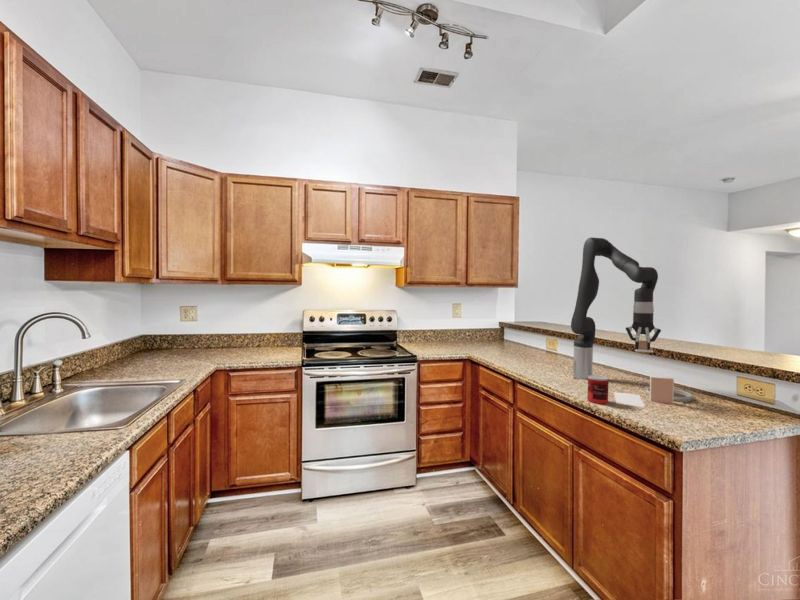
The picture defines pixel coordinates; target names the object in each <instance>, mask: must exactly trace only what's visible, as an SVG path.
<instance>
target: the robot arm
mask: <svg viewBox="0 0 800 600" xmlns="http://www.w3.org/2000/svg"><path fill="white" fill-rule="evenodd" d="M596 257H605V258H607V259H608V260H610V261H611V263H612V265H613V266H614V267H615V268H616V269H618V270H619V271H621V272H623V273H624V274H625V275H626V276H627V277H628V279H630V281H632V282H634V283H637V284H641V285H640V288H636V289H635V290H634V297H633V298H634V300H633V306H632V307H633V309H632V311H633V312H632V324H631V325H630V326H627V327H625V331H626V332H627V334H628V336H629V339H630V340H631V341H634V347H635V350H636V349H639V340H640V336H641V335H645V341H647V350H651V343H652V342H655V341H656V340H657V339H658V337H659V335H660V333H661V332H662V329H660V328H658V327H655V325H654V312H655V309H654V291H655V289H656V286H657V283H658V280H659V274H658V272H657V271H658V270H657V269H655V267H651V266H649V267H648V266H647V267H646V266H645V267H644V266H640V263H639V261H637V260H636V259H634V258H632V257H631V256H629V255H626V254H625V253H624V252H622V251H620V250H619V249H618V248H617V247H616V246H614V245H613V243H612V242H610V241H609V240H608V239H606V238H604V237H603V238H602V237H588V238H587V239H586V240H585V241H584V243H583V248H582V261H581V262H582V265H581V270H580V271H581V272H580V277H579V283H578V290H577V296H576V300H575V301H576V302H575V307H574V311H573V314H572V317H571V321H570V328H571V331H572V332H573V333H574V334H576V335H578V337H577V338H576V339H575V340H574V341H573V367H572V369H573V374H572V377H573V378H572V379H577V380H584V381H588V376H589V375H593V372H594V371H593V370H594V369H593V367H594V366H593V363H594V362H593V361H594V360H593V359H594V357H593V354H594V351H593V350H594V343H595V339H596V322H595V320H594V319H593V318H592V317H591V316H588V310H589V309H590V306H591V305H592V303H593V302H594V300H595V299H596V297H597V296H598V292H599V286H600V278H599V276H598V273H597V271H596V267H595V260H596ZM633 330H634V332H635V337H634V336H633V334H632V331H633ZM653 330H654V331H653ZM651 332H654V334H653V335H652V337H651V336H650V335H651V334H650V333H651Z"/></svg>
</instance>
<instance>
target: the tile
mask: <svg viewBox="0 0 800 600" xmlns="http://www.w3.org/2000/svg"><path fill="white" fill-rule="evenodd" d="M674 379H675V378H674V377H664V376H654V375H650V376H649V386H650V387H649V388H650V395H649V401H650V402H653V403H662V404H663V403H664V404H671V405H673V404H674V401H673V393H674V389H675V388H674V387H675V386H674V383H675V381H674Z"/></svg>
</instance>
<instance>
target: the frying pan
mask: <svg viewBox="0 0 800 600" xmlns="http://www.w3.org/2000/svg"><path fill="white" fill-rule="evenodd" d="M638 386H639V389H641V388H642V389H643V388H645V391H646V393H647V395H649V396H650V385H644V384H642V383H641V382H639V383H638ZM693 398H694V396H693V394H692V393H690V392H688V391H685V390H680V389H676V388H674V393H673V402H682V403H689V401H690V402H691V401H692V399H693Z"/></svg>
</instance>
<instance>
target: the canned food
mask: <svg viewBox="0 0 800 600" xmlns="http://www.w3.org/2000/svg"><path fill="white" fill-rule="evenodd" d="M587 401H588V402H590V403H592V404H595V405H607V404H608V403H609V378H608V376H604V375H599V374H592V375H589V376H588V380H587Z"/></svg>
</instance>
